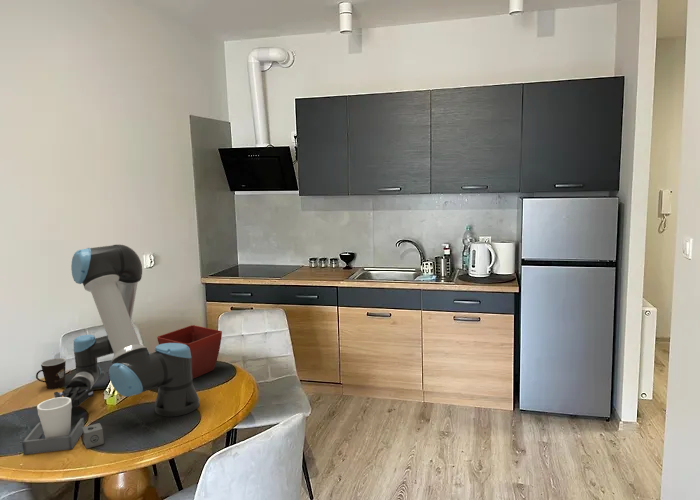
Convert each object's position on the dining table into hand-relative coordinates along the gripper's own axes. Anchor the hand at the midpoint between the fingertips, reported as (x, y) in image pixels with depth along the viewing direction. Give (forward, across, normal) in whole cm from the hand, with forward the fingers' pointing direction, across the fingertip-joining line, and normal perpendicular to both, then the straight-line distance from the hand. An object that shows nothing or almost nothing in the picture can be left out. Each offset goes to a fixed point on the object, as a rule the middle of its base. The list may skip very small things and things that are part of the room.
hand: (58, 414), depth 172 cm
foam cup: (+7, -2, -7) cm, 10 cm away
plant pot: (-44, -38, -7) cm, 59 cm away
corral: (+5, 0, -6) cm, 8 cm away
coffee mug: (-43, +16, -7) cm, 46 cm away
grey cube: (+10, -13, -7) cm, 17 cm away
